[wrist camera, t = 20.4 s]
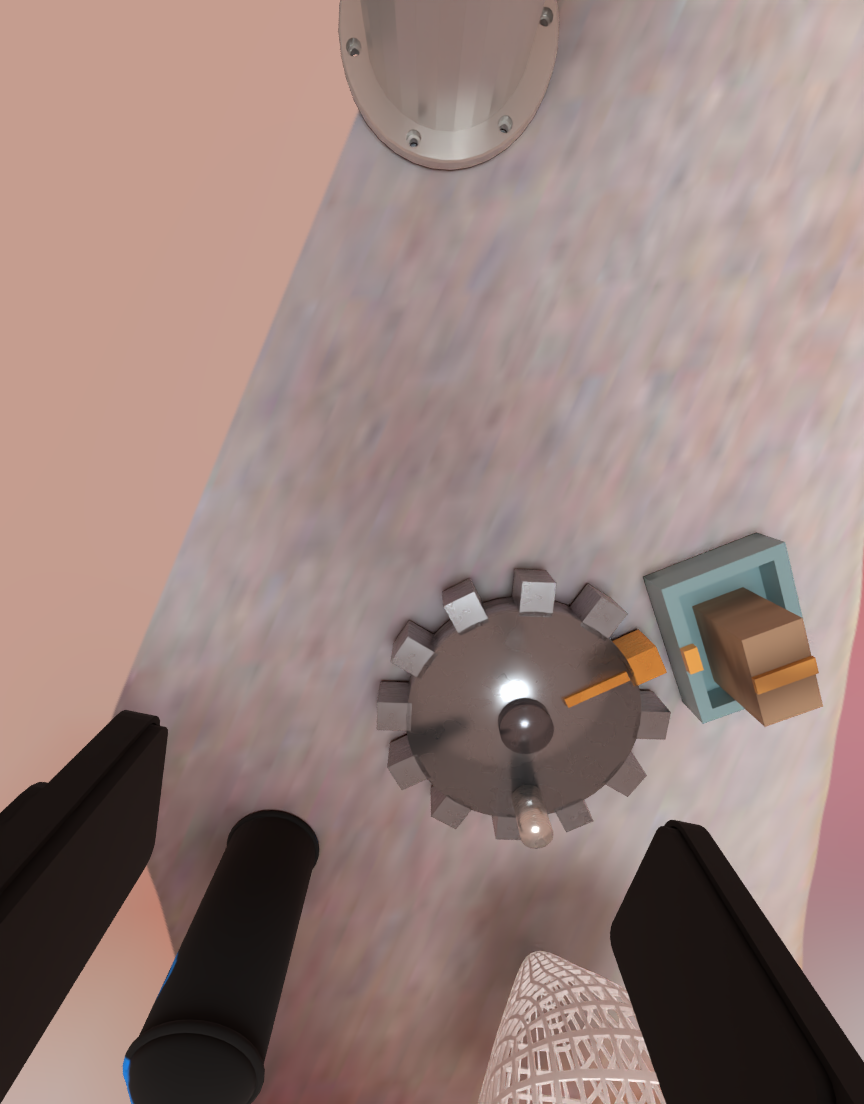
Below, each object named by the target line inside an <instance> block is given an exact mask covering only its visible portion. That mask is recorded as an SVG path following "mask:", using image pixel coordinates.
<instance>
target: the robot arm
mask: <svg viewBox="0 0 864 1104" xmlns="http://www.w3.org/2000/svg"><path fill="white" fill-rule="evenodd" d="M542 25H544V26H542ZM338 32H339V41H340V50H341V58H342V62H343V67H344V71H345V75H346V79H347V82H348V85H349V88H350V91H351V93H352V96H353V99H354V102H355V103H356V105H357V107H358V109H359V111H360V112H361V114H362V116H363V118H364V120H365V121H366V123H367V124H368V125H369V127H370V128H371V129H372V130H373V132H374V133H375V134H376V135H377V136H378V138H379V139H380V140H381V141H382V142H384V143H385V144H386V145H387V146H388V147H389V148H391V149H392V150H393V151H394V152H395V153H397V154H399V155H400V156H402V157H404V158H406V159H408V160H410V161H411V162H413V163H416V164H419V165H423V166H426V167H429V168H433V169H447V170H454V169H460V168H467V167H472V166H474V165H477V164H480V163H482V162H485V161H487V160H490V159H491V158H493V157H494V156H496V155H497V154H499V153H500V152H502V151H503V150H505V149H507V148H508V147H509V146H510V145H511V144H512V143H513V142H514V141H515V140H516V139H517V138H518V137H519V136H520V135H521V134H522V133H523V131H524V130H525V128H526V127H527V126H528V124H529V123H530V121H531V120H532V119H533V117H534V116H535V114H536V112H537V110H538V108H539V106H540V104H541V102H542V99H543V97H544V95H545V93H546V90H547V87H548V84H549V81H550V78H551V76H552V73H553V68H554V64H555V59H556V54H557V50H558V36H559V14H558V3H557V0H340V5H339V29H338ZM355 54H358V56H356V57H354V56H353V55H355ZM500 129H505V130H506V131H507V133H503V132H501V131H500ZM413 142H415V143H417V144H418V146H416V147H411V146H410V144H411V143H413ZM167 737H168V729H167V728H166V727H163V726H160V720H159V717H157V716H153V715H148V714H143V713H138V712H133V711H128V710H124V711H121V712H120V713H119V714H118V715H116V716H115V717H114V718H113V719H112V720H111V721H110V722H109V723H108V724H107V725H106V726H105V727H104V728H103V729H102V730H101V731H100V732H99V733H98V734H97V735H96V736H95V737H94V738H93V739H92V740H91V741H90V742H89V743H88V744H87V745H86V746H85V747H84V748H83V749H82V750H81V751H80V752H79V753H78V754H77V755H76V756H75V757H74V758H73V759H72V760H71V761H70V762H69V763H68V764H67V765H66V766H65V767H64V768H63V769H62V770H61V771H60V772H59V773H58V774H57V775H56V776H55V777H54V778H53V779H52V780H51V781H50V782H49V783H46V782H38V783H36V784H34V785H31V786H30V787H29V788H27V789H26V790H25V791H24V792H22V793H21V794H20V795H19V796H18V797H17V798H16V799H15V800H14V801H13V802H11V803H10V804H9V805H8V806H7V807H6V808H5V809H4V810H3V811H2V812H1V813H0V1103H1V1102H2V1100H3V1099H4V1097H5V1095H6V1094H7V1092H8V1090H9V1089H10V1087H11V1086H12V1084H13V1082H14V1081H15V1079H16V1077H17V1076H18V1074H19V1073H20V1071H21V1069H22V1068H23V1066H24V1064H25V1063H26V1061H27V1059H28V1058H29V1056H30V1055H31V1053H32V1051H33V1050H34V1048H35V1046H36V1044H37V1043H38V1041H39V1040H40V1038H41V1037H42V1035H43V1033H44V1032H45V1030H46V1028H47V1027H48V1025H49V1024H50V1022H51V1020H52V1019H53V1017H54V1015H55V1014H56V1012H57V1011H58V1009H59V1007H60V1005H61V1004H62V1002H63V1001H64V999H65V997H66V996H67V994H68V993H69V991H70V989H71V988H72V986H73V984H74V983H75V981H76V980H77V978H78V976H79V975H80V973H81V971H82V970H83V968H84V967H85V964H86V963H87V961H88V960H89V958H90V957H91V955H92V953H93V952H94V950H95V949H96V947H97V945H98V944H99V942H100V940H101V939H102V937H103V935H104V934H105V932H106V930H107V929H108V927H109V926H110V924H111V922H112V921H113V919H114V918H115V916H116V914H117V912H118V911H119V909H120V908H121V906H122V904H123V903H124V901H125V900H126V898H127V896H128V895H129V893H130V891H131V890H132V888H133V887H134V885H135V883H136V882H137V880H138V878H139V877H140V875H141V874H142V872H143V870H144V868H145V867H146V865H147V863H148V861H149V859H150V857H151V854H152V851H153V848H154V844H155V838H156V829H157V821H158V812H159V804H160V796H161V787H162V779H163V770H164V762H165V754H166V745H167ZM610 940H611V946H612V950H613V953H614V956H615V958H616V961H617V964H618V967H619V970H620V973H621V976H622V979H623V981H624V984H625V987H626V990H627V993H628V996H629V999H630V1001H631V1004H632V1007H633V1010H634V1013H635V1016H636V1019H637V1022H638V1024H639V1027H640V1030H641V1033H642V1036H643V1039H644V1042H645V1044H646V1047H647V1050H648V1053H649V1056H650V1059H651V1062H652V1065H653V1067H654V1070H655V1073H656V1076H657V1079H658V1082H659V1085H660V1087H661V1090H662V1093H663V1096H664V1099H665V1102H666V1104H864V1062H863V1060H862V1059H861V1057H860V1056H859V1055H858V1053H857V1052H856V1050H855V1049H854V1047H853V1046H852V1044H851V1043H850V1041H849V1040H848V1038H847V1037H846V1035H845V1034H844V1032H843V1031H842V1029H841V1028H840V1026H839V1025H838V1023H837V1022H836V1020H835V1019H834V1017H833V1016H832V1015H831V1013H830V1011H829V1010H828V1009H827V1007H826V1006H825V1004H824V1003H823V1001H822V1000H821V998H820V997H819V995H818V994H817V992H816V991H815V989H814V988H813V987H812V985H811V983H810V982H809V980H808V979H807V977H806V976H805V975H804V973H803V971H802V970H801V968H800V967H799V966H798V964H797V963H796V961H795V960H794V958H793V957H792V955H791V954H790V952H789V951H788V949H787V948H786V946H785V945H784V943H783V942H782V940H781V939H780V937H779V936H778V934H777V933H776V931H775V930H774V928H773V927H772V925H771V924H770V923H769V921H768V920H767V918H766V917H765V915H764V914H763V912H762V911H761V909H760V908H759V906H758V905H757V903H756V902H755V900H754V899H753V897H752V896H751V894H750V893H749V891H748V890H747V888H746V887H745V885H744V884H743V883H742V881H741V880H740V878H739V877H738V875H737V874H736V872H735V871H734V869H733V868H732V866H731V865H730V863H729V862H728V860H727V859H726V857H725V856H724V854H723V853H722V851H721V850H720V848H719V847H718V845H717V844H716V842H715V841H714V840H713V838H712V837H711V835H710V834H709V832H708V831H707V830H706V829H705V828H704V827H702V826H700V825H696V824H691V823H686V822H681V821H676V820H670V821H668V822H667V823H666V824H665V825H664V826H661V827H659V828H658V830H657V831H656V833H655V835H654V837H653V839H652V841H651V843H650V846H649V848H648V850H647V852H646V854H645V856H644V858H643V860H642V862H641V864H640V866H639V868H638V871H637V873H636V875H635V877H634V879H633V881H632V883H631V885H630V887H629V889H628V891H627V894H626V896H625V898H624V900H623V902H622V904H621V906H620V908H619V910H618V912H617V914H616V917H615V919H614V921H613V923H612V926H611V931H610Z"/></svg>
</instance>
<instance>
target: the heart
mask: <svg viewBox="0 0 864 1104" xmlns="http://www.w3.org/2000/svg"><path fill="white" fill-rule="evenodd" d="M535 963H536V964H535ZM536 968H538V969H536ZM541 972H542V973H541ZM538 974H539V975H538ZM536 975H537V976H536ZM561 975H563V976H564V977H562V976H561ZM524 980H525V981H524ZM549 980H550V982H549ZM568 981H570V982H571V983H572V984H573V986H570V985H569V984H568ZM588 982H590V983H591V984H589V983H588ZM528 983H529V984H528ZM544 983H546V984H544ZM527 984H528V985H527ZM606 984H607V985H606ZM556 985H559V987H560V988H561V989H558V987H557V986H556ZM552 987H554V988H555V990H556V991H554V990H553V988H552ZM534 991H535V992H534ZM544 991H545V992H546V993H545V992H544ZM533 992H534V993H533ZM580 992H581V993H582V994H583V995H584V996H586V997H587V998H588V999H589V1001H584V1000H583V999H582V998H581V997H580ZM592 992H593V993H594V994H595V995H596V996H598V997H599V998H600V999H601V1000H597V999H596V998H595V997H594V995H593V994H592ZM532 993H533V994H532ZM531 994H532V995H531ZM542 994H543V995H544V997H543V998H542ZM539 995H541V999H540V1000H538V1001H537V997H538V996H539ZM564 995H566V997H567V998H568V1000H569V1001H570V1003H571V1004H568V1005H567V1003H566V1001H565V999H564V998H563V997H564ZM604 995H605V996H606V997H605V996H604ZM615 996H618V997H620V998H621V999H622V1000H623V1002H624V1003H623V1002H618V1001H617V999H616V998H615ZM557 997H558V999H557ZM552 999H553V1001H554V1003H553V1001H552ZM629 1000H630V999H629V996H628V993H627V990H625V989H624V988H623V987H621V986H619V985H618V984H616V983H614V982H612V981H610V980H608V979H606V978H604V977H602V976H600V975H598V974H596V973H594V972H591V971H589V970H587V969H584V968H582V967H580V966H577V965H575V964H573V963H571V962H569V961H567V960H565V959H563V958H561V957H559V956H557V955H554V954H552V953H549V952H545V951H535V952H533V953H531V954H529V955H528V956H527V957H526V958H525V960H524V961H523V962H522V964H521V966H520V968H519V971H518V973H517V976H516V978H515V981H514V984H513V986H512V989H511V992H510V995H509V998H508V1001H507V1004H506V1007H505V1010H504V1013H503V1016H502V1019H501V1022H500V1025H499V1028H498V1031H497V1035H496V1038H495V1041H494V1045H493V1048H492V1052H491V1055H490V1059H489V1063H488V1067H487V1070H486V1074H485V1078H484V1081H483V1085H482V1089H481V1093H480V1097H479V1101H478V1104H507V1103H508V1098H513V1104H519V1099H524V1100H526V1104H530V1100H532V1103H533V1104H539V1101H540V1104H542V1101H546V1102H553V1104H563V1103H564V1104H591V1103H592V1102H593V1101H594V1099H595V1098H596V1097H597V1095H598V1096H599V1097H600V1099H601V1100H602V1102H603V1103H604V1104H610V1099H609V1094H608V1089H607V1084H608V1085H609V1087H610V1089H611V1090H612V1092H613V1093H614V1095H615V1097H616V1098H617V1099H616V1101H615V1103H614V1104H625V1102H624V1100H623V1096H624V1094H625V1092H626V1097H627V1101H628V1104H645V1102H646V1101H647V1104H656V1103H655V1099H654V1095H653V1091H652V1090H653V1088H654V1090H655V1092H656V1094H657V1096H658V1098H659V1100H660V1102H661V1104H666V1102H665V1099H664V1097H663V1095H662V1093H661V1091H660V1089H659V1087H658V1085H657V1084H659V1082H658V1079H657V1076H656V1073H655V1072H652V1071H649V1069H648V1067H647V1065H646V1064H645V1062H644V1060H643V1059H642V1057H641V1053H642V1051H643V1048H644V1049H645V1051H646V1053H647V1054H648V1056H649V1053H648V1050H647V1047H646V1044H645V1042H644V1039H643V1036H642V1033H641V1030H637V1029H636V1028H635V1026H634V1025H633V1024H632V1022H631V1021H630V1019H629V1018H628V1017H627V1016H632V1015H634V1017H635V1019H636V1016H635V1013H634V1010H633V1007H632V1004H631V1002H630V1001H629ZM549 1001H550V1003H551V1004H550V1005H548V1002H549ZM560 1001H562V1003H563V1004H564V1006H561V1005H560ZM528 1006H529V1009H528V1010H527V1011H526V1012H525V1010H526V1008H527V1007H528ZM555 1006H557V1008H555ZM543 1008H545V1009H547V1012H546V1013H544V1012H543ZM550 1008H552V1009H553V1010H551V1011H550V1010H549V1009H550ZM593 1009H597V1011H598V1013H599V1016H600V1018H601V1020H602V1022H601V1021H600V1019H599V1018H598V1017H597V1016H596V1015H595V1013H594V1012H593ZM607 1009H613V1010H614V1011H616V1013H617V1015H618V1017H619V1024H618V1023H617V1022H616V1021H615V1020H614V1019H613V1018H612V1017H611V1016H610V1014H609V1013H608V1010H607ZM537 1010H538V1012H539V1014H540V1016H539V1017H537ZM583 1010H587V1012H588V1015H587V1018H586V1016H585V1014H584V1012H583ZM534 1012H535V1014H536V1019H534V1020H533V1021H531V1015H532V1014H533V1013H534ZM575 1012H577V1013H578V1015H579V1016H580V1018H581V1019H582V1021H583V1023H584V1027H583V1029H581V1028H580V1026H579V1024H578V1023H577V1021H576V1019H575V1017H574V1014H575ZM567 1013H568V1014H569V1015H568V1016H567V1017H565V1014H567ZM521 1015H522V1016H521ZM560 1015H561V1017H562V1020H563V1021H561V1022H559V1020H558V1016H560ZM527 1018H528V1021H525V1020H526V1019H527ZM553 1018H555V1020H556V1023H554V1024H552V1021H551V1019H553ZM591 1018H593V1019H594V1020H595V1022H596V1023H597V1024H598V1025H599V1027H600V1028H592V1026H591V1025H590V1022H591ZM570 1019H571V1020H572V1021H573V1023H574V1025H575V1027H576V1029H577V1030H573V1031H571V1029H570V1027H569V1024H568V1022H569V1021H570ZM548 1020H549V1023H550V1024H549V1023H547V1021H548ZM607 1020H609V1022H610V1023H611V1024H612V1025H613V1026H614V1027H615V1028H611V1027H610V1025H609V1023H608V1021H607ZM636 1021H637V1019H636ZM563 1025H565V1028H566V1031H567V1032H562V1029H561V1026H563ZM514 1026H515V1027H514ZM524 1026H525V1027H524ZM520 1027H521V1031H520V1032H519V1033H518V1034H517V1032H518V1030H519V1029H520ZM538 1027H540V1028H543V1030H544V1039H542V1040H539V1041H538ZM513 1028H514V1029H513ZM534 1028H536V1038H537V1042H535V1043H533V1041H532V1036H531V1030H533V1029H534ZM554 1028H558V1030H559V1033H560V1034H556V1035H555V1034H554V1030H553V1029H554ZM549 1029H551V1033H552V1036H551V1033H550V1030H549ZM525 1035H526V1036H527V1043H528V1044H524V1043H523V1037H524V1036H525ZM604 1038H608V1039H609V1040H610V1041H611V1044H612V1047H613V1050H614V1052H613V1055H612V1056H611V1055H610V1053H609V1052H608V1050H607V1049H606V1047H605V1046H604V1044H603V1039H604ZM615 1038H617V1041H616V1040H615ZM622 1038H623V1039H624V1040H625V1042H626V1043H627V1045H628V1046H629V1048H630V1049H631V1050H632V1052H633V1053H634V1057H633V1059H632V1062H630V1061H629V1059H628V1058H627V1056H626V1055H625V1053H624V1052H623V1050H622V1049H621V1043H622ZM587 1039H590V1042H591V1045H592V1047H591V1046H590V1044H589V1042H588V1040H587ZM594 1039H595V1040H596V1042H597V1044H596V1043H595V1040H594ZM581 1040H583V1042H584V1044H585V1046H586V1047H587V1049H588V1051H589V1053H590V1055H591V1056H590V1057H589V1059H588V1060H587V1061H585V1059H584V1057H583V1055H582V1053H581V1051H580V1049H579V1047H578V1045H577V1044H578V1043H579V1042H580V1041H581ZM636 1040H639V1043H638V1046H637V1043H636ZM519 1041H520V1043H519ZM566 1042H570V1044H568V1045H567V1044H566ZM560 1043H563V1046H557V1044H560ZM510 1048H512V1050H511V1056H510V1057H509V1058H508V1056H509V1052H510ZM600 1048H601V1050H602V1051H603V1053H604V1054H605V1056H606V1058H607V1059H608V1061H609V1062H610V1063H609V1065H608V1067H607V1069H605V1068H603V1066H602V1063H601V1060H600V1057H599V1053H598V1052H599V1050H600ZM518 1049H519V1052H518ZM570 1049H571V1051H572V1055H573V1059H574V1063H573V1061H572V1058H571V1055H570V1053H569V1050H570ZM504 1050H505V1052H504ZM536 1051H537V1056H538V1069H536V1064H535V1055H534V1052H536ZM539 1051H546V1053H547V1060H548V1067H549V1070H542V1069H540V1056H539ZM555 1052H556V1055H555ZM559 1052H566V1055H567V1058H568V1061H569V1064H570V1067H571V1070H564V1071H563V1067H562V1063H561V1059H560V1055H559ZM549 1053H550V1057H549ZM503 1054H504V1056H503ZM577 1054H578V1056H579V1059H580V1061H581V1063H582V1065H583V1066H581V1067H580V1064H579V1060H578V1056H577ZM526 1056H528V1060H527V1068H522V1067H521V1059H523V1058H524V1057H526ZM556 1056H557V1061H558V1065H559V1069H560V1071H558V1066H557V1061H556ZM502 1058H503V1060H502ZM550 1058H551V1063H550ZM649 1058H650V1056H649ZM616 1059H617V1062H618V1065H619V1067H618V1066H617V1064H616V1063H615V1062H616ZM622 1059H623V1061H624V1062H625V1064H626V1065H627V1067H628V1069H625V1067H624V1064H623V1061H622ZM593 1060H594V1062H595V1063H596V1065H597V1067H598V1068H597V1069H589V1066H590V1064H591V1063H592V1062H593ZM637 1063H638V1065H639V1067H640V1070H635V1068H636V1065H637ZM551 1064H552V1069H551ZM574 1064H575V1066H574ZM575 1068H576V1069H575ZM506 1072H508V1074H507V1081H506V1087H505V1079H506ZM511 1072H512V1085H511V1086H510V1080H511ZM520 1073H521V1074H527V1079H525V1080H523V1081H520ZM530 1075H531V1077H530ZM498 1076H499V1079H498ZM583 1080H590V1081H591V1083H592V1085H593V1087H594V1089H595V1090H594V1092H593V1093H592V1094H591V1095H590V1096H589V1098H588V1099H587V1097H586V1095H585V1090H584V1083H583ZM596 1080H601V1081H600V1083H599V1084H597V1082H596ZM611 1080H612V1081H621V1082H622V1083H623V1084H622V1087H621V1089H620V1091H619V1092H618V1091H617V1089H616V1087H615V1086H614V1084H613V1082H612V1081H611ZM519 1081H520V1082H519ZM566 1081H576V1084H577V1086H578V1089H579V1092H580V1098H581V1100H579V1099H574V1098H570V1097H569V1093H568V1088H567V1084H566ZM630 1081H632V1082H636V1083H637V1084H638V1086H639V1088H640V1090H641V1092H642V1093H643V1094H642V1096H641V1098H640V1100H639V1102H638V1100H637V1098H636V1096H635V1095H634V1093H633V1091H632V1089H631V1087H630V1086H629V1082H630ZM560 1082H562V1083H563V1088H564V1093H565V1097H562V1093H561V1085H560ZM606 1082H607V1084H606ZM642 1082H644V1083H645V1087H646V1088H645V1087H644V1085H643V1083H642ZM550 1083H551V1092H552V1095H542V1086H541V1085H545V1084H550ZM553 1083H554V1084H553ZM538 1086H539V1094H538ZM554 1086H555V1091H554ZM530 1088H532V1094H530ZM602 1088H603V1092H602V1091H601V1090H602ZM526 1089H527V1093H520V1091H523V1090H526ZM603 1093H604V1094H603ZM555 1095H556V1096H555Z"/></svg>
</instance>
